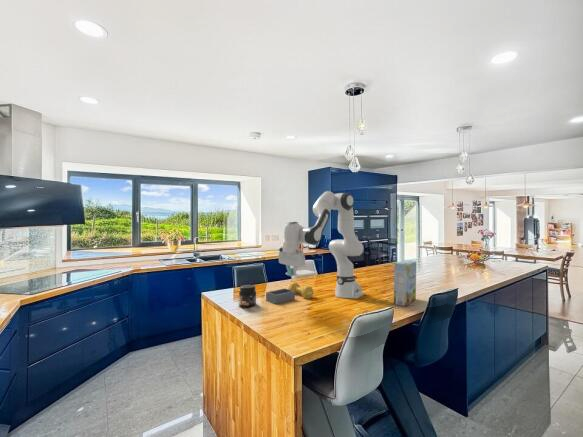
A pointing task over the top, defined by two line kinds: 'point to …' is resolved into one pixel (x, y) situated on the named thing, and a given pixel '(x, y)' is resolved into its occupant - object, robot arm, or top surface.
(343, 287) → the robot arm
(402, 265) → the snack box
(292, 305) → the top surface
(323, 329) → the top surface
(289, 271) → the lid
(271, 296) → the tub
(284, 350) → the top surface
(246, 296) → the supplement container
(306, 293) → the dumbbell
